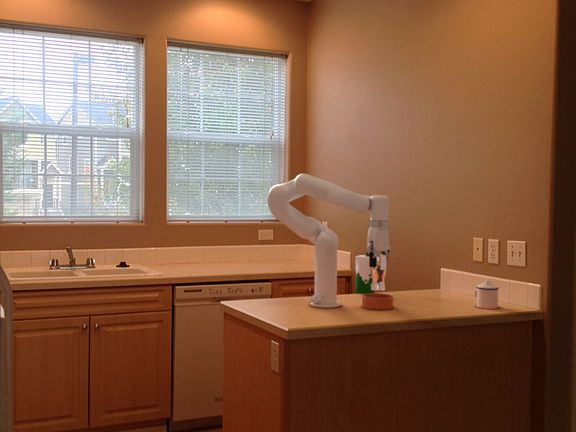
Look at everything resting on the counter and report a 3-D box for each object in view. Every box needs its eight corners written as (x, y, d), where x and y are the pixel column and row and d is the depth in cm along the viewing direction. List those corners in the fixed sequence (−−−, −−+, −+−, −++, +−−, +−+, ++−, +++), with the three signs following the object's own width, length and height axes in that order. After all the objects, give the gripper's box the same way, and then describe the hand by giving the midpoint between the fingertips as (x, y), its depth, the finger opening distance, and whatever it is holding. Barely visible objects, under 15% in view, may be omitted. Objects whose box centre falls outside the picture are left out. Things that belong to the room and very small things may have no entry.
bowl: (380, 311, 270) (380, 299, 270) (355, 307, 279) (355, 295, 279) (399, 307, 279) (399, 296, 279) (374, 303, 288) (374, 292, 288)
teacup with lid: (502, 308, 280) (503, 281, 280) (486, 309, 276) (487, 282, 276) (482, 303, 291) (483, 277, 290) (466, 305, 287) (467, 278, 286)
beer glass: (382, 291, 274) (382, 255, 273) (367, 290, 278) (367, 254, 277) (388, 289, 280) (389, 254, 279) (373, 288, 284) (374, 253, 283)
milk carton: (370, 295, 312) (370, 253, 311) (352, 293, 317) (353, 251, 316) (377, 292, 320) (378, 251, 319) (360, 291, 324) (360, 250, 323)
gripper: (384, 223, 287) (383, 264, 287) (359, 224, 274) (358, 267, 275) (398, 224, 281) (397, 265, 282) (373, 225, 269) (372, 268, 270)
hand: (378, 266), depth 278 cm, fingers closed on beer glass, 7 cm apart
